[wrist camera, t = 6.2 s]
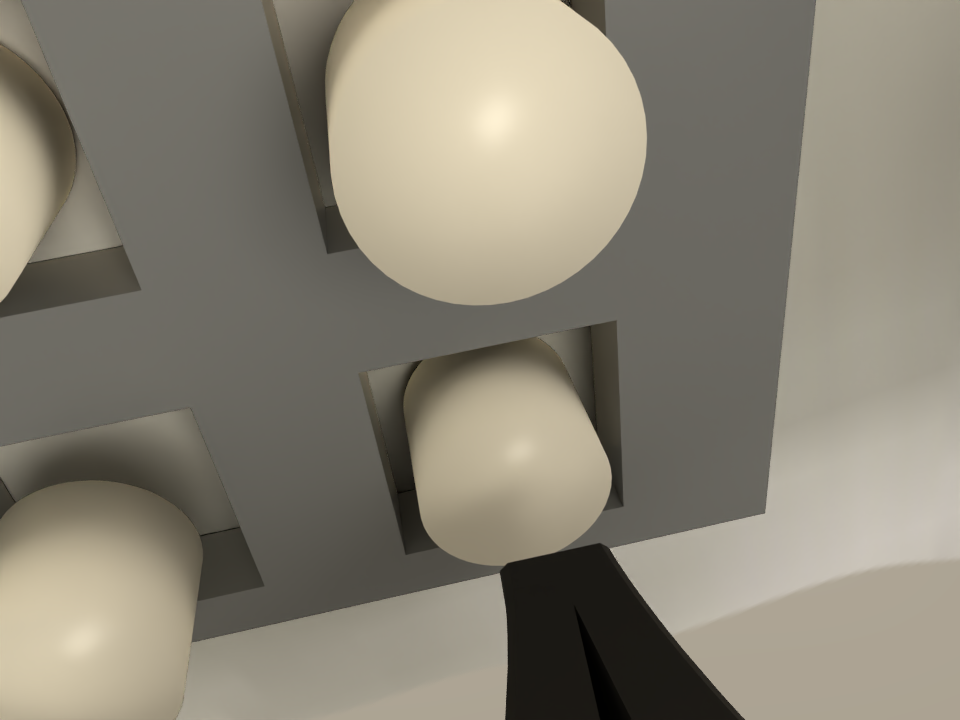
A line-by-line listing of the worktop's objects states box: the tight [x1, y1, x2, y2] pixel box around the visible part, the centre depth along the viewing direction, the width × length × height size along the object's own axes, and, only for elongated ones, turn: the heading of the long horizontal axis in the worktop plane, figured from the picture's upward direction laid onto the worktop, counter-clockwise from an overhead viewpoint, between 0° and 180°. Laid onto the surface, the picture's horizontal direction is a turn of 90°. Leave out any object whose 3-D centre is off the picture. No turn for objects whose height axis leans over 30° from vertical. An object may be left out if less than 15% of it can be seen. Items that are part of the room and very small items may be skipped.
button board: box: [0, 0, 816, 643], centre depth 12 cm, size 16×12×2 cm
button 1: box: [0, 480, 203, 720], centre depth 12 cm, size 3×3×2 cm
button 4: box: [325, 0, 647, 305], centre depth 9 cm, size 3×3×2 cm
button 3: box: [403, 337, 612, 566], centre depth 14 cm, size 3×3×2 cm
